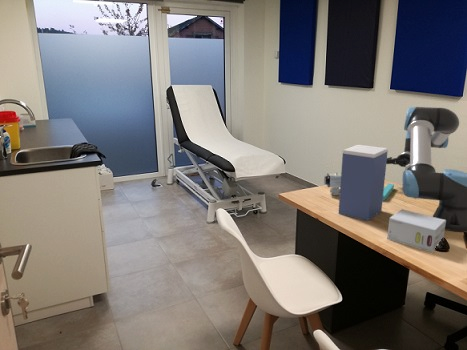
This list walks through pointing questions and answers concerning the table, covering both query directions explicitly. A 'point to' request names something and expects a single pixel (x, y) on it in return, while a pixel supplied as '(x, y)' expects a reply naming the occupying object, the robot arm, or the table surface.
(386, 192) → the bar
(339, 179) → the pneumatic valve
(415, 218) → the supplement box
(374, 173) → the pedestal
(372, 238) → the table surface
